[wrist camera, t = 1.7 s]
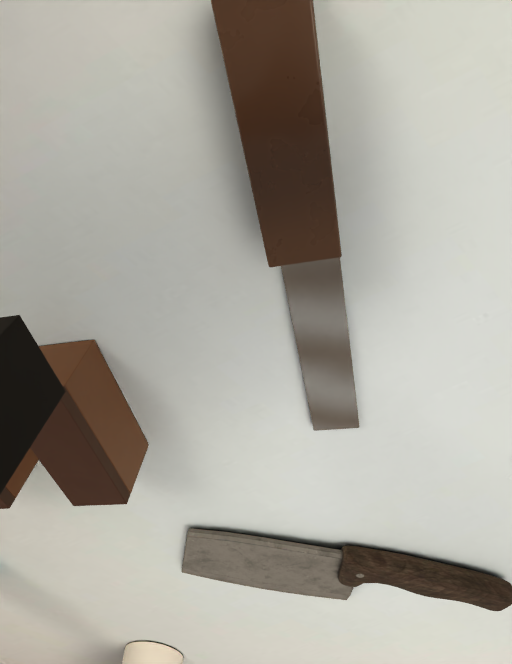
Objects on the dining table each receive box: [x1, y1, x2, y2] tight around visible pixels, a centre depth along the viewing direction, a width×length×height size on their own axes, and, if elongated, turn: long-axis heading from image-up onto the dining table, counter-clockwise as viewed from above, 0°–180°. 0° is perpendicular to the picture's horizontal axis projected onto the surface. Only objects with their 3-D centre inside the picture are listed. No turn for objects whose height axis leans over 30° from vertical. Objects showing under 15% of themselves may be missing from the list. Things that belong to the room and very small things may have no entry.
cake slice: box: [30, 340, 149, 506], centre depth 29 cm, size 10×4×5 cm, turn 12°
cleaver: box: [182, 528, 512, 611], centre depth 41 cm, size 29×10×2 cm, turn 88°
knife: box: [211, 0, 359, 430], centre depth 22 cm, size 24×3×4 cm, turn 12°
